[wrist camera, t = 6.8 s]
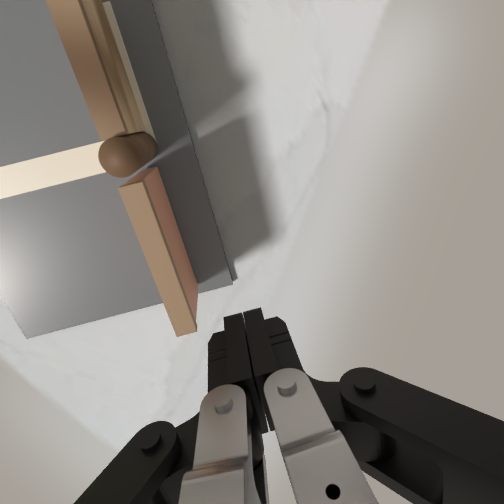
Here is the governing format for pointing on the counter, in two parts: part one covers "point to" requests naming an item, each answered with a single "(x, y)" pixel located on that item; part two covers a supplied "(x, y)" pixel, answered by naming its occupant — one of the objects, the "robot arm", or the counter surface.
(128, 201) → the hinged fence section
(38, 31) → the card
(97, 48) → the fixed fence section
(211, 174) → the counter surface
